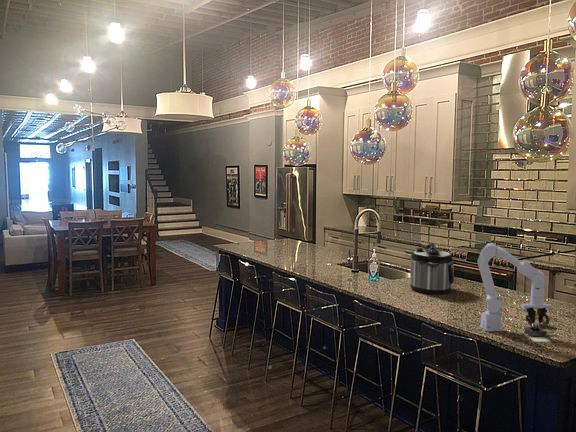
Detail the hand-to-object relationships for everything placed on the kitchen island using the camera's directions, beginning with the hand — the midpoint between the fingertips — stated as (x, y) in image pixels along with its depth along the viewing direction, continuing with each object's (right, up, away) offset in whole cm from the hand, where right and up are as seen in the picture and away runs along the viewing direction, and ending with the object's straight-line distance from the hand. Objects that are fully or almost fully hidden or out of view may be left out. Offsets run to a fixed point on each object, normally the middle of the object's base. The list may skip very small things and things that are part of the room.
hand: (535, 322), depth 237 cm
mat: (-1, -7, -6) cm, 10 cm away
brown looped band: (+9, -5, +16) cm, 19 cm away
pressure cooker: (-25, +2, +89) cm, 92 cm away
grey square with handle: (+3, -6, +1) cm, 7 cm away
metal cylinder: (0, -3, 0) cm, 3 cm away
